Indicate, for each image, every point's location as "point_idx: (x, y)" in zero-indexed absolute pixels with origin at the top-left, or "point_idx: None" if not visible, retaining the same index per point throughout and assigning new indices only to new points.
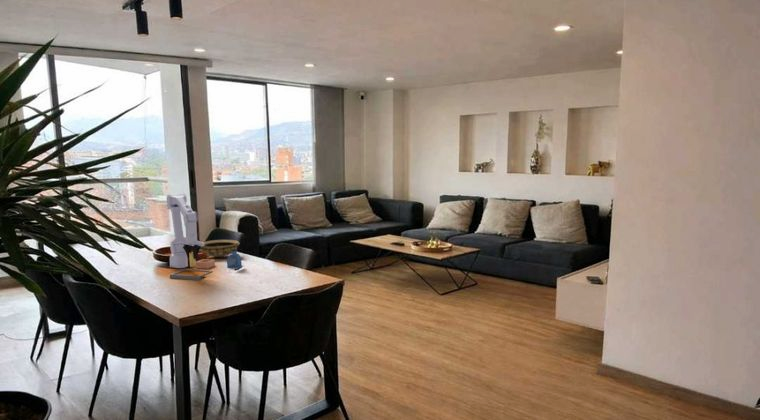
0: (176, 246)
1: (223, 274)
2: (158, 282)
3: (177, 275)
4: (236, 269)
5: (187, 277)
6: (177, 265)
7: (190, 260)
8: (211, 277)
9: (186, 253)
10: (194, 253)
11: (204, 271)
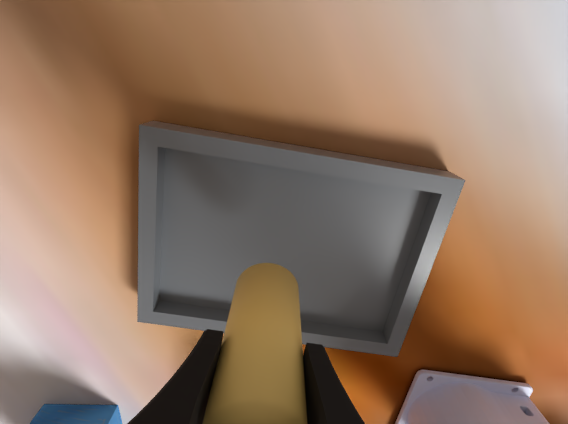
0: None
1: (68, 306)
2: (512, 3)
3: (381, 165)
4: (48, 409)
5: (271, 143)
6: (482, 410)
7: (275, 312)
8: (104, 219)
9: (348, 406)
10: (169, 392)
11: (209, 315)
